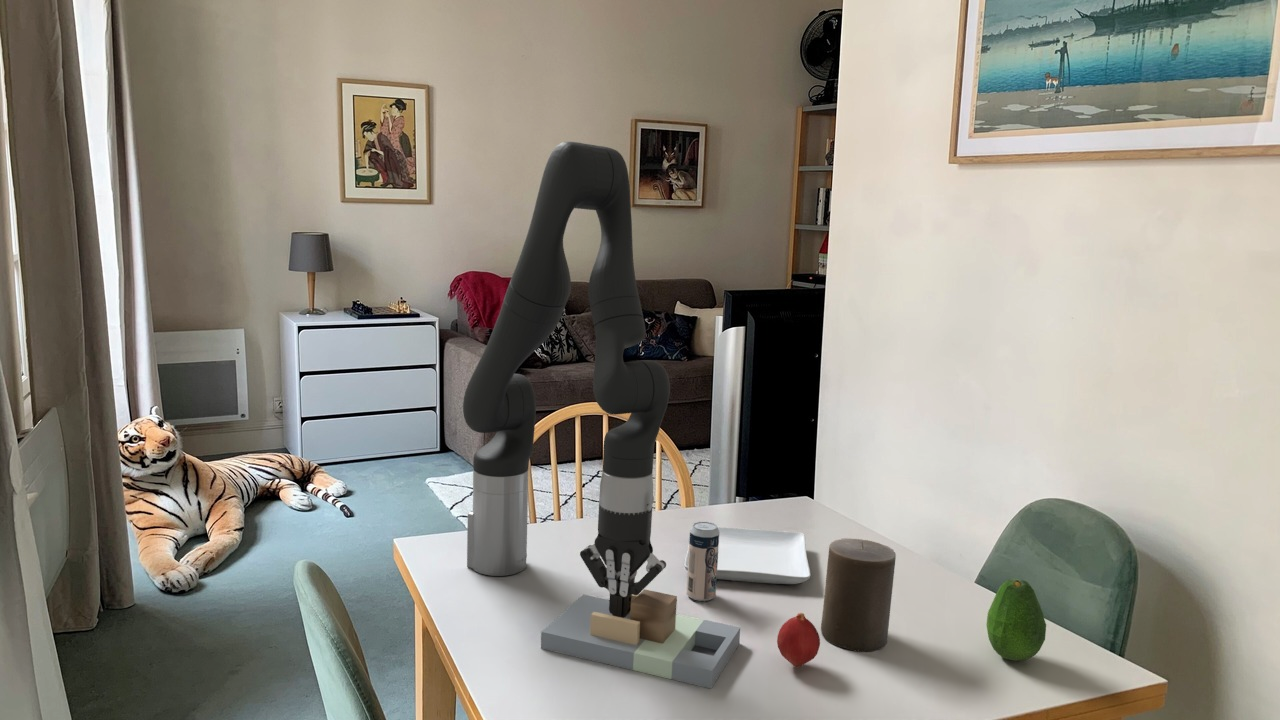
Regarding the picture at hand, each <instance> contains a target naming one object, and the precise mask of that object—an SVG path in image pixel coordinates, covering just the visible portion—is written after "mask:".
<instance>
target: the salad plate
mask: <svg viewBox="0 0 1280 720" xmlns="http://www.w3.org/2000/svg"><path fill="white" fill-rule="evenodd" d="M717 527H718V529H719V532H720V533H719V548H718V565H717V580H722V581H723V580H725V581H735V582H747V583H761V584H769V585H770V584H772V585H798V584H801V583H805V582H807V581H808V580H809V579H810V578H811V569H810V563H809V561H808V555H807V549H806V548H807V547H806V545H807V543H806V536H805V534H804V533H803V532H797V531H786V530H785V531H784V530H773V529H772V530H771V529H761V528H760V529H759V528H758V529H757V528H745V527H744V528H743V527H729V526H728V527H726V526H717ZM691 528H692V526H691ZM691 528H690V529H691ZM689 539H690V537H689ZM688 558H689V545H688V547H687V552H686V555H685V559H684V563H683V565H684V568H685V570H686V571H687V572H688Z"/></svg>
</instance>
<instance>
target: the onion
mask: <svg viewBox="0 0 1280 720" xmlns="http://www.w3.org/2000/svg"><path fill="white" fill-rule="evenodd" d="M776 638H777V639H776V642H777V649H778V650H779V652H780V655H781V656H782V657H783V658H784V659H785V660H786V661H788V662H789V663H790V664H791V666H793V667H794V668H801V667H802V666H804V665H806V664H808V663H809V662H810V661H812V660H814V658H815V657H816V656H817V655H818V653H819V649H820V645H821V639H820V634H819V632H818V630H817V628H816V627H815V625H814V624H813V622H811V621H810V620H809V619H808V618H806V615H805V613H803V612H798V613H797V615H796V616H793V617H791V618H789V619H788V620H787V621H785V622H784V623H783V624H782V626H781V627H780V628H779V630H778V633H777V637H776Z"/></svg>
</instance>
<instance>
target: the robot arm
mask: <svg viewBox="0 0 1280 720" xmlns="http://www.w3.org/2000/svg"><path fill="white" fill-rule="evenodd" d="M627 167H628V166H627V164H626V161H625V158H624V156H623V155H622V154H621V153H620V152H619V151H618V150H616V149H614V148H611V147H607V146H603V145H597V144H596V145H595V144H590V143H585V142H583V143H582V142H577V141H563V142H560V143H558V145H556V146H555V147H554V149H552V151H551V152H550V154H549V157H548V159H547V161H546V164H545V167H544V170H543V174H542V176H541V181H540V185H539V189H538V191H537V192H538V194H537V196H536V201H535V203H534V204H535V205H534V210H533V213H532V216H531V217H532V218H531V221H530V223H529V228H528V230H527V235H526V236H525V237H526V238H525V241H524V243H523V245H522V249H521V251H520V254H519V257H518V260H517V263H516V266H515V269H514V271H513V274H512V276H511V278H510V281H509V284H508V285H507V286H508V287H507V289H506V292H505V295H504V298H503V300H502V301H503V302H502V303H501V308H500V310H499V313H498V316H497V319H496V321H495V324H494V327H493V329H492V332H491V334H490V336H489V340H488V341H487V344H486V346H485V348H484V351H483V353H482V355H481V357H480V359H479V361H478V363H477V365H476V367H475V369H474V370H473V372H472V375H471V377H470V379H469V381H468V383H467V385H466V389H465V392H464V395H463V402H462V412H463V413H462V414H463V418H464V421H465V423H466V425H467V427H469V428H470V429H471V430H472V431H473V432H475V433H480V434H488V433H491V434H492V433H495V435H494V436H493V437H492V438H491V439H490V440H489V441H488V443H485V445H483V446H481V447H480V448H479V449H477V450H476V452H475V453H474V455H473V459H472V460H473V462H472V464H473V465H472V468H473V469H472V470H473V471H472V473H473V474H472V510H471V511H470V512H468V513H467V530H466V531H467V532H466V533H467V534H466V535H467V537H466V538H467V539H466V540H467V542H466V543H467V544H466V546H467V547H466V567H467V568H471V569H473V570H474V571H475V572H477V573H478V574H482V575H484V576H493V577H494V576H495V577H502V576H503V577H504V576H510V575H511V576H512V575H516V574H519V573H520V572H522V571H524V570H525V569H526V567H527V556H528V553H527V547H528V546H527V545H528V513H529V512H528V511H529V510H528V508H529V469H530V467H529V465H530V461H531V457H532V455H533V451H534V438H535V428H536V414H537V404H536V403H537V402H536V394H535V390H534V387H533V384H532V383H531V381H530V379H529V378H528V377H526V375H523V374H520V373H516V372H517V370H519V367H520V366H521V365H522V364H523V363H524V362H525V360H527V359H528V357H530V356H531V355H532V354H533V353H534V352H535V351H536V350H537V349H538V348H539V347H540V346H541V345H543V343H544V342H545V341H546V340H547V339H548V338H549V337H550V335H552V334H553V332H554V330H556V327H557V326H558V324H559V322H560V320H561V317H562V315H563V312H564V311H565V310H564V309H565V307H566V305H567V302H568V301H569V297H570V294H571V290H572V280H571V273H570V268H569V265H568V261H567V257H566V253H565V249H564V236H565V231H566V227H567V224H568V221H569V218H570V216H571V214H572V212H573V210H574V209H578V210H579V209H580V210H589V211H595V212H596V215H597V218H598V222H599V226H600V234H601V235H600V244H599V249H598V252H597V256H596V259H595V261H594V264H593V266H592V271H591V273H590V276H589V282H588V289H587V291H588V293H587V294H588V296H587V297H588V302H589V310H590V313H591V319H592V323H593V328H594V334H595V351H594V352H595V353H594V355H595V356H594V367H593V368H594V369H593V376H592V377H593V380H592V381H593V382H592V390H593V391H592V392H593V396H594V399H595V401H596V403H597V405H598V406H599V408H600V409H601V410H602V411H603V412H605V413H607V414H608V415H624V414H625V415H626V414H630V415H629V417H628V419H627V420H626V422H624V423H623V424H621V425H618V426H616V427H614V428H611V429H609V430H608V431H607V432H606V433H605V435H604V440H603V448H602V449H603V453H602V454H603V456H602V471H601V476H600V477H601V478H600V482H599V483H600V484H599V497H598V499H599V500H598V515H597V516H598V517H597V518H598V520H597V536H596V538H595V539H594V544H592V545H591V544H589V545H588V546H586V547H585V548H584V549H582V550H581V551H580V552H579V556H580V558H581V560H582V561H583V563H584V565H585V566H586V568H587V570H588V571H589V572H590V575H591V576H592V578H593V580H594V581H595V583H596V584H597V586H598V587H599V588H601V589H602V588H604V589H606V590H607V591H608V592H609V599H608V600H609V611H610V613H611V614H612V616H616V617H621V618H625V617H626V616H627V615H628V614H629V613H630V611H631V599H632V594H633V595H638V594H640V593H641V592H642V591H643V590H644V589H646V588H647V586H648V585H649V584H651V582H652V581H654V580H655V578H656V577H658V575H659V574H660V573H661V572H662V571H663V570H664V569H666V567H667V562H666V561H665V560H663V559H660V560H659V559H658V558H657V556H656V555H655V554H654V552H653V551H654V548H653V545H652V542H651V536H652V520H653V504H654V499H655V497H654V478H653V477H654V475H653V472H654V471H653V470H654V453H655V443H656V440H657V437H658V434H659V431H660V428H661V426H662V422H663V419H664V416H665V413H666V410H667V408H668V404H669V401H670V394H671V383H670V377H669V374H668V373H667V370H666V369H665V367H664V366H663V365H662V364H661V363H660V362H658V361H654V360H637V361H626V362H625V361H624V357H623V356H624V351H625V349H627V348H631V347H634V346H636V345H638V344H640V343H642V341H644V339H645V338H646V334H647V333H646V324H645V319H644V314H643V310H642V305H641V299H640V296H639V295H640V294H639V291H638V286H637V285H638V284H637V280H636V273H635V266H634V248H633V245H634V244H633V227H632V226H633V223H632V207H631V205H632V204H631V189H630V188H631V187H630V186H631V185H630V177H629V172H628V168H627ZM646 562H647V565H645V571H646V572H647V573H646V574H644V576H643V577H641V579H639V581H638V582H637V581H636V576H637V573H638V570H639V569H640V568H642V566H643V565H644V564H645V563H646Z"/></svg>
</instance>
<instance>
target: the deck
mask: <svg viewBox="0 0 1280 720" xmlns="http://www.w3.org/2000/svg"><path fill="white" fill-rule="evenodd" d="M639 594H640V593H639ZM639 594H638V595H639ZM638 595H633V594H632V599H631V602H632V601H633V600H634V599H635V598H636V597H637V596H638ZM609 600H610V599H607V598H602V597H598V596H592V595H588V594H584V593H583V594H582V595H581V596H580V597H579V598H578V599H576V601H574V602H573V603H572V604H571V605H570V606H568V607H567V609H565V610H564V611H563V612H562V613H561V614H559V616H557V617H556V618H554V620H553V621H551V622H550V623H549V624H548V625H547V626H546V627H545V628H543V630H541V632H540V649H542V650H546V651H550V652H555V653H559V654H563V655H568V656H571V657H577V658H580V659H584V660H589V661H593V662H597V663H600V664H601V663H602V664H605V665H610V666H614V667H618V668H623V669H626V670H631V671H635V672H638V673H643V674H648V675H653V676H656V677H660V678H664V679H669V680H673V681H678V682H681V683H685V684H690V685H693V686H694V685H695V686H698V687H702V688H707V689H712V688H713V686H714V685H715V683H716V681H717V680H718V679H719V677H720V675H721V673H722V672H723V670H724V669H725V667H726V665H727V664H728V662H729V661H730V660H731V658H732V656H733V654H734V653H735V651H736V649H737V648H738V646H739V645H740V640H741V639H740V638H741V627H740V626H736V625H733V624H732V625H731V624H727V623H723V622H722V623H721V622H717V621H712V620H708V619H703V618H697V617H692V616H689V615H684V614H680V613H676V623H675V630H674V631H673V632H672V633H671V635H670V636H669V637H668V638H667V639H666V641H665V642H664V643H663V644H662V643H657V642H653V641H649V640H644V639H640V638H639V636H640V622H639V621H635V620H630V613H629V614H628V615H627V616H626V617H625V618H621V617H616V616H612V614H611V613H610V611H609Z"/></svg>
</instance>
